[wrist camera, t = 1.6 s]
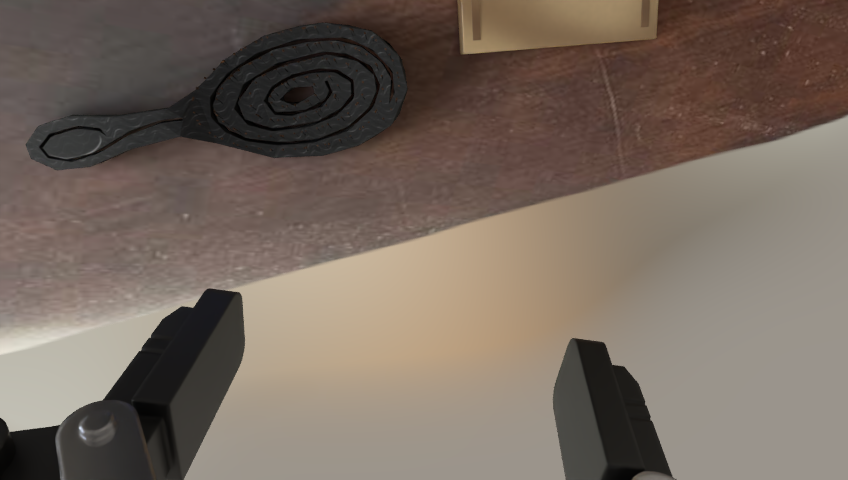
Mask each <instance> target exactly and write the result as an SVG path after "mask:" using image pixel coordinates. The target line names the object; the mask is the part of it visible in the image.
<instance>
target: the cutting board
mask: <svg viewBox="0 0 848 480" xmlns="http://www.w3.org/2000/svg"><path fill="white" fill-rule="evenodd" d="M457 1H458V21H459V40H460V54H474V53H487V52H500V51H512V50H525V49H537V48H550V47H562V46H575V45H587V44H600V43H612V42H625V41H637V40H650V39H656V37H657V18H658V0H457Z"/></svg>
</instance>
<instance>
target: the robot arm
mask: <svg viewBox="0 0 848 480" xmlns="http://www.w3.org/2000/svg"><path fill="white" fill-rule="evenodd" d="M244 346H245V335H244V321H243V305H242V296H241V294H240V293H239V292H232V291H225V290H217V289H207V290H206V291H205V292H204V293H203V295H202V296H201V298H200V299H199V300H198V302H197V303H196V305H195V306H194V308H190V307H183V306H182V307H180V308H179V309H177V310H176V311H174V312H173V313H171V314H170V315H168V316H167V317H165V318H164V319H163V320H162V321H161V322H160V324H159V325H158V326H157V328H156V329H155V330H154V332H153V333H152V335H151V338H149V339H148V340H147V341H146V343H145V344H144V345H143V347H142V350H141V351H139V352H138V354H137V355H136V356H135V358H134V359H133V360H132V362H131V363H130V364H129V366H128V367H127V369H126V370H125V371H124V372H123V374H122V375H121V377H120V378H119V379H118V381H117V382H116V383H115V385H114V386H113V387H112V389H111V390H110V391H109V393H108V394H107V395H106V397H105V398H104V399H103V401H98V402H94V403H91V404H88V405H86V406H84V407H82V408H79V409H78V410H76V411H75V412H73V413H72V414H71V415H69V416H68V417H67V418H66V419H65V420H64V421H63V422H62V424H61V425H58V426H52V427H45V428H37V429H30V430H23V431H15V432H9V430H8V427H7V425H6V422H5V421H4V420H3V419H1V418H0V480H184V478H185V476H186V473H187V472H188V470H189V468H190V466H191V463H192V461H193V459H194V457H195V455H196V453H197V451H198V449H199V447H200V445H201V443H202V441H203V439H204V437H205V435H206V433H207V431H208V429H209V427H210V425H211V423H212V421H213V419H214V417H215V415H216V413H217V411H218V409H219V407H220V405H221V403H222V401H223V399H224V397H225V395H226V393H227V391H228V389H229V386H230V385H231V383H232V380H233V378H234V377H235V374H236V372H237V370H238V368H239V366H240V364H241V361H242V357H243V353H244ZM553 409H554V415H555V420H556V426H557V432H558V437H559V443H560V449H561V454H562V460H563V466H564V472H565V477H566V480H676V479H674V478H673V477H672V474H671V472H670V469H669V466H668V463H667V461H666V458H665V455H664V452H663V450H662V447H661V444H660V441H659V439H658V436H657V433H656V430H655V428H654V425H653V422H652V421H651V420H650V414H649V411H648V409H647V406H646V405H645V400H644V397H643V395H642V392H641V389H640V386H639V384H638V383H637V381H635V379H634V378H633V377H632V375H631V374H630V373H629V372H628V371H627V370H626V368H625V367H623V366H615V365H612V363H611V360H610V357H609V354H608V351H607V348H606V345H605V344H604V343H603V342H598V341H590V340H583V339H575V338H572V339H571V340H570V342H569V344H568V346H567V350H566V353H565V355H564V359H563V362H562V365H561V368H560V371H559V374H558V377H557V380H556V383H555V387H554V394H553Z"/></svg>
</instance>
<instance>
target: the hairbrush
mask: <svg viewBox="0 0 848 480" xmlns="http://www.w3.org/2000/svg"><path fill="white" fill-rule="evenodd" d="M312 38H344V39H349V40H353V41H355V42H357V43H359V44H361V45H364V46H366V47H367V48H369V49H370V50H372V51H373V52H375V53H376V54H377V55H378V56H379V57H380V58H381V59H382V60H383V61H384V62H385V64H386V65H387V66H388V67H389V68H390V70H391V72H392V73H393V81H394V94H393V98H392V99H391V101H390V95H391V89H392V80H391V77H390V73H389V72H388V71H387V69H386V67H385V65H384V64H383V62H381V61H380V60H379V59H378V58H377V57H376V56H374V55H373V54H371V53H370V52H369V51H368V50H366V49H365V48H364V47H362V46H359V45H356V44H351V43H347V42H343V41H339V40H331V41H311V42H305V43H300V44H295V45H290V46H286V47H282V48H278V49H274V50H272V51H271V52H269V53H267V54H265V55H263V56H261V57H259V58H257V59H255V60H253V61H252V62H250V63H248V64H246V65H244V66H242V67H241V68H240V69H237V70H238V71H237V72H235V73H234V74H233V75H231V77H229V78H228V80H227V81H226V82H225V83H224V84H223V85H221V84H222V83H223V82H224V81H225V80H226V79H227V77H228V76H229V75H230V74H231V73H232V72H233V71H234V70H235V69H236V68H238V67H239V66H240V65H242V64H243V63H244V62H246V61H248V60H250V59H251V58H253V57H255V56H257V55H259V54H260V53H262V52H264V51H266V50H268V49H270V48H273V47H276V46H279V45H282V44H284V43H288V42H292V41H296V40H302V39H312ZM322 52H336V53H342V54H347V55H351V56H353V57H355V58H356V59H358V60H360V61H362V62H364V63H366V64H368V65H369V66H370V67H371V68H372V69H373V70H374V72H375V75H376V77H377V79H378V81H379V83H380V89H379V92H378V95H377V98H376V101H375V104H374V105H373V106H372V107H371V109H370V110H369V111H368V112H367V113H366V115H365V116H364V117H363V118H362V119H360V120H359V121H358V122H357V123H356V124H354V125H352V126H350V127H348V126H349V125H351V124H352V123H353V122H354V121H355V120H356V119H357V118H358V117H360V116H361V115H362V114H363V113H364V112H365V111H366V110H367V109H368V108H369V107H370V105H371V104H372V102H373V99H374V97H375V96H376V90H377V83H376V79H375V75H374V74H373V72H372V71H371V70H369V69H368V68H367V66H366V65H365V64H364V63H361V62H359V61H356V60H354V59H352V58H348V57H346V56H338V55H321V56H317V57H313V58H309V59H304V60H301V61H297V62H292V63H289V64H286V65H282V66H281V67H278V68H275V69H274V70H272V71H270V72H268V73H266V74H264V75H262V76H260V77H258V78H256V77H257V76H258V75H259V74H260V73H262V72H263V71H265V70H267V69H268V68H270V67H272V66H275V65H278V64H281V63H284V62H288V61H291V60H294V59H297V58H301V57H304V56H307V55H310V54H315V53H322ZM222 61H223V62H221V64H220V65H219V66H218V67H217V68H216V69H215V68H213V70H214V71H213V73H212V74H211V75H210V76H209V77H208V78H206V77H204V79H206V80H205V81H204V82H203V83H202V84H201V85H200V86H199V87H196V90H195V91H194V92H192V93H190V94H189V95H187V96H186V97H184V98H183V99H181V100H180V101H178V102H177V103H175V104H174V105H172V106H171V107H169V108H164V109H157V110H150V111H144V112H137V113H130V114H124V115H70V116H68V117H65V118H62V119H59V120H56V121H52V122H49V123H46V124H43V125H40V126H38V127H37V129H36V130H35V132H34V133H33V134H32V136H31V137H30V139H29V140H28V142H27V143H26V147H27V149H28V152H29V155H30V157H31V159H33V160H35V161H37V162H40V163H42V164H44V165H46V166H49V167H51V168H53V169H55V170H64V169H74V168H83V167H91V166H93V165H96V164H98V163H102V162H104V161H106V160H108V159H111V158H113V157H116V156H118V155H120V154H122V153H124V152H126V151H128V150H131V149H134V148H138V147H142V146H146V145H150V144H153V143H157V142H161V141H165V140H169V139H172V138H176V137H185V138H191V139H196V140H202V141H208V142H213V143H218V144H222V145H226V146H230V147H234V148H237V149H241V150H245V151H249V152H253V153H257V154H261V155H265V156H269V157H273V158H279V157H303V156H323V155H327V154H330V153H334V152H337V151H341V150H344V149H348V148H351V147H355V146H358V145H360V144H362V143H364V142H365V141H367V140H369V139H371V138H373V137H374V136H376V135H377V134H379V133H380V132H382V131H383V130H385V129H386V128H388V127H389V126H391V125H392V124H393V122H394V121H395V120H396V118H397V117H398V115H399V114H400V111H401V108H402V105H403V102H404V99H405V96H406V93H407V89H408V88H407V82H406V75H405V70H404V67H403V64H402V59H401V58H400V57H399V55H398V54H397V52H396V51H395V50H394V49H393V48H392V46H391V45H390V44H389V43H388V42H387V41H385V40H384V39H382V38H381V37H380V36H378V35H377V34H375V33H374V32H373V31H371V30H366V29H362V28H358V27H354V26H350V25H342V24H332V23H317V24H310V25H303V26H298V27H294V28H291V29H287V30H283V31H280V32H276V33H272V34H269V35H265V36H263V37H261V38H259V39H258V40H256V41H254V42H253V43H251V44H249V45H248V46H246V47H244V48H243V49H240V50H239V51H238V52H236V53H233V55H231V56H230V57H228V58H226V59H225V60H222ZM313 69H335V70H339V71H341V72H342V73H344V74H345V75H347V76H348V77H350V78H351V79H353V80H354V96H353V98H352V99H351V101H350V102H349V103H348V104H347V105H346V106H345V107H344V108H343V109H342V110H341V111H339V112H338V113H337V114H336V115H334V116H332V117H330V118H328V119H326V120H322V121H319V120H321V119H323V118H325V117H327V116H329V115H331V114H333V113H334V112H336V111H338V110H340V108H341V107H342V106H343V105H345V104H346V102H347V101H348V99H349V97H350V96H351V94H352V93H353V85H352V82H351V80H350V79H349V78H347V77H346V76H344V75H343V74H341V73H339V72H328V71H320V72H314V73H309V74H303V75H300V76H298V77H295V78H292V79H290V80H288V81H285V82H284V83H281V85H279V86H278V87H277V88H275V89H274V87H275V86H276V85H277V84H278V83H279V82H280V81H281V80H283V79H285V78H287V77H289V76H292V75H295V74H297V73H300V72H304V71H309V70H313ZM255 78H256V79H255ZM252 81H253V82H252ZM251 82H252V83H251ZM328 82H329V84H330V86H329V84H328ZM250 83H251V84H250ZM249 84H250V86H249V87H248V89H247V90H246V91H245V93H244V94H243V96H242V97H241V99H240V100H239V97H240V95H241V93H242V91H243V90H244V89H245V88H246V87H247V86H248V85H249ZM220 85H221V86H220ZM219 86H220V88H219ZM307 86H312V87H313V89H314V92H315V93H314V94H313V95H311V96H310V97H308V98H306V99H305V100H303V101H301V102H285V100H284V95H285V94H286V93H287V92H289V91H291V90H292V89H294V88H296V87H307ZM330 87H331V89H332V92H333V93H332V94H331V95H330V97H329V98H328V100H327V101H325V102H324V103H323V104H321V105H320V106H319V107H317V108H316V109H312V110H308V111H305V112H301V113H297V114H282V113H278V112H292V111H302V110H306V109H308V108H310V107H313V106H315V105H317V104H319V103H321V102H322V101H323V100H325V99H326V98H327V97H328V96H329V94H330ZM218 88H219V91H218V93H217V96H216V92H217V90H218ZM273 89H274V90H273ZM272 90H273V91H272ZM271 92H272V93H271ZM270 93H271V95H270ZM269 96H270V97H269ZM268 101H269V102H270V103H269V102H268ZM240 109H241V111H242V114H243V115H241V112H240ZM213 110H214V112H215V113H216V115H215V114H214V113H213ZM174 118H182V119H179V120H172V121H164V122H161V123H158V124H156V125H153V126H151V127H148V128H146V129H143V130H141V131H138V132H136V133H133V134H131V135H128V136H127V137H125V138H123V139H122V140H120V141H118V142H117V143H115V144H114V145H112V146H110V147H109V148H107V149H105V150H102V151H99V152H96V151H98V150H100V149H101V148H103V147H105V146H107V145H109V144H111V143H113V142H114V141H116V140H117V139H119V138H121V137H122V136H124V135H126V134H127V133H129V132H131V131H132V130H135V129H137V128H140V127H143V126H145V125H148V124H151V123H154V122H156V121H159V120H166V119H174ZM316 121H318V122H316ZM253 122H255V123H258V124H261V125H264V126H267V127H270V128H262V127H259V126H258V125H256V124H255V123H253ZM310 122H315V123H311V124H307V125H303V126H300V127H296V128H277V127H284V126H291V125H297V124H304V123H310ZM75 126H84V127H81V128H78V129H74V130H69V131H66V132H63V133H60V134H58V135H55V136H54V134H55V133H58V132H60V131H63V130H66V129H68V128H71V127H75ZM93 127H94V128H93ZM227 127H228V128H230V129H231V130H233V131H235V132H236V133H234V132H232V131H229V130H228V129H227ZM345 127H348V128H347V129H345V130H343V131H341V132H340V133H338V134H336V135H334V136H329V137H324V138H321V137H323V136H326V135H329V134H331V133H334V132H336V131H338V130H341V129H343V128H345ZM98 128H100V129H98ZM237 133H238V134H237ZM239 134H240V135H239ZM249 138H251V139H249ZM318 138H319V139H318ZM252 139H259V140H252ZM310 139H313V140H310ZM260 140H268V141H260ZM299 140H308V141H303V142H297V143H282V142H288V141H299ZM271 141H276V142H271ZM94 152H96V153H94ZM92 153H93V154H92ZM89 154H91V155H89ZM86 155H88V156H86ZM84 156H85V157H84ZM78 157H82V158H79V159H76V160H75V159H72V158H78Z"/></svg>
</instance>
